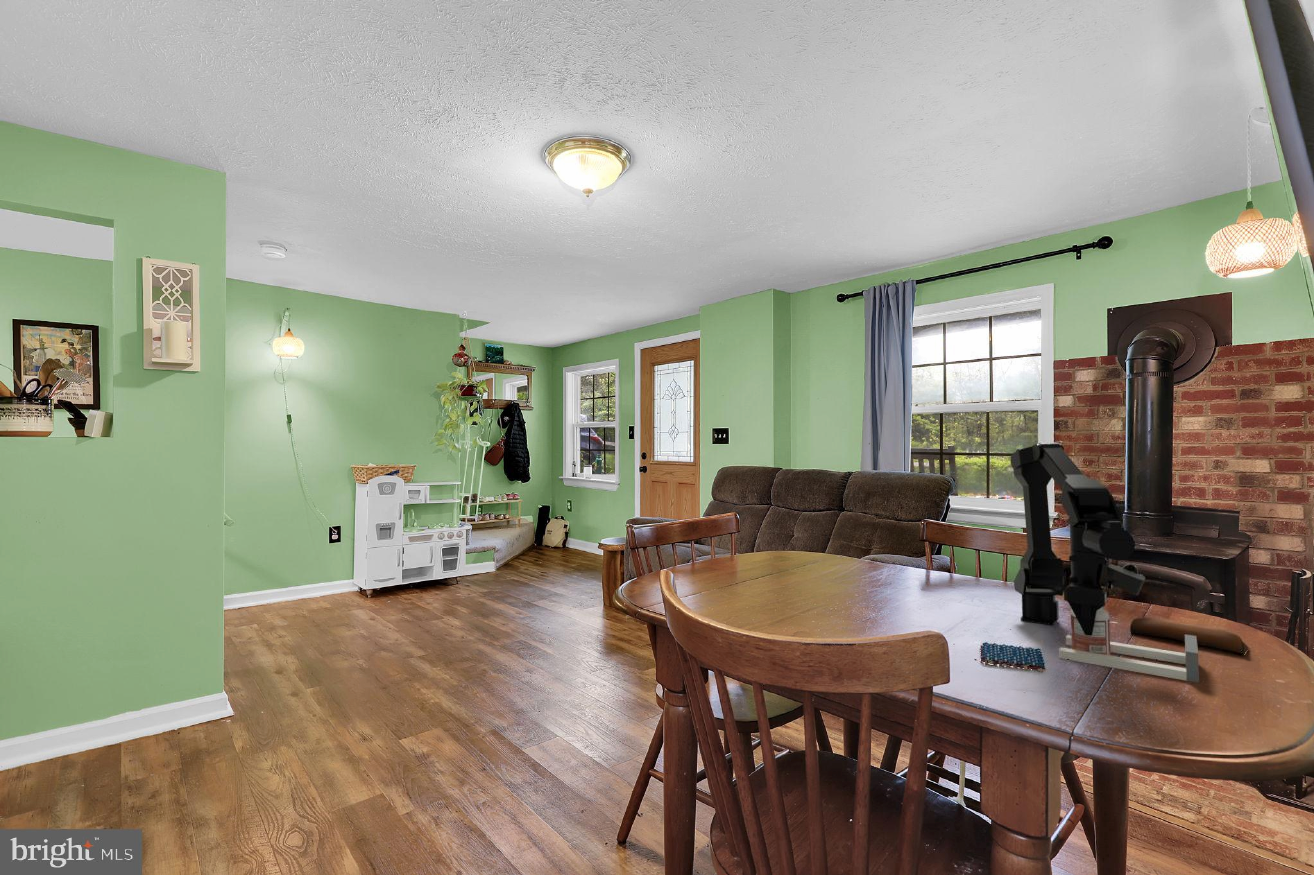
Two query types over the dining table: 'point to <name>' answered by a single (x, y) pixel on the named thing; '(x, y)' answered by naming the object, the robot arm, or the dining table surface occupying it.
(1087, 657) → the guide track
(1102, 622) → the pill bottle
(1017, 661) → the woven mat
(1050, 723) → the dining table surface
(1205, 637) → the sunglasses case
